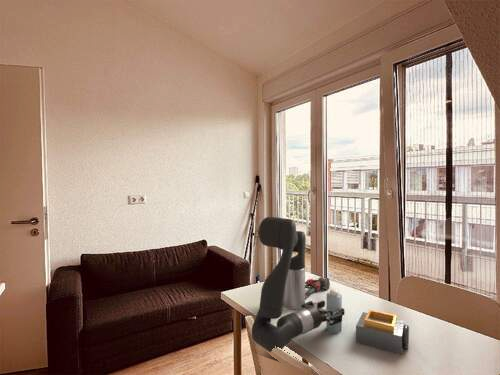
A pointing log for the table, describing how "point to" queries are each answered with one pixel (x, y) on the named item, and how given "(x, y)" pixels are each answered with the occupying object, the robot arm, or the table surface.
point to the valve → (316, 285)
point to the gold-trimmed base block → (382, 332)
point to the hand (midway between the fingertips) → (333, 307)
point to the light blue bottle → (333, 309)
